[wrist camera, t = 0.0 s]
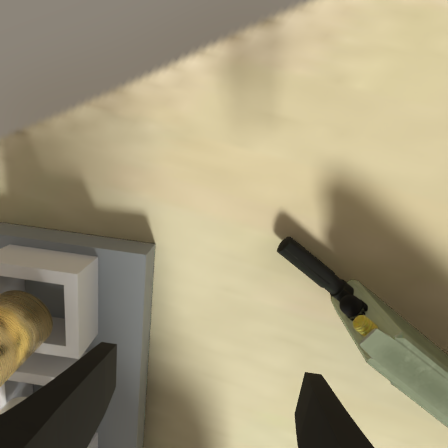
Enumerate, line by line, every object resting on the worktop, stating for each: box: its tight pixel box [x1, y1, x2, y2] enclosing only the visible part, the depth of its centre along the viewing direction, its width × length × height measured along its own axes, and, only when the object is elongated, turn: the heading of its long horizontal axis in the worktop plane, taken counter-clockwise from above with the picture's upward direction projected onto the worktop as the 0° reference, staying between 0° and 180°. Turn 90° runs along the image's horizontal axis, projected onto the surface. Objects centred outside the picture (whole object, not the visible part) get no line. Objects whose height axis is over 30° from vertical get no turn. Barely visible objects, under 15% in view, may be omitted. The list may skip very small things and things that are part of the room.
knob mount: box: [0, 222, 155, 448], centre depth 22 cm, size 22×12×4 cm, turn 173°
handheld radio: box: [277, 236, 448, 427], centre depth 19 cm, size 7×3×25 cm
